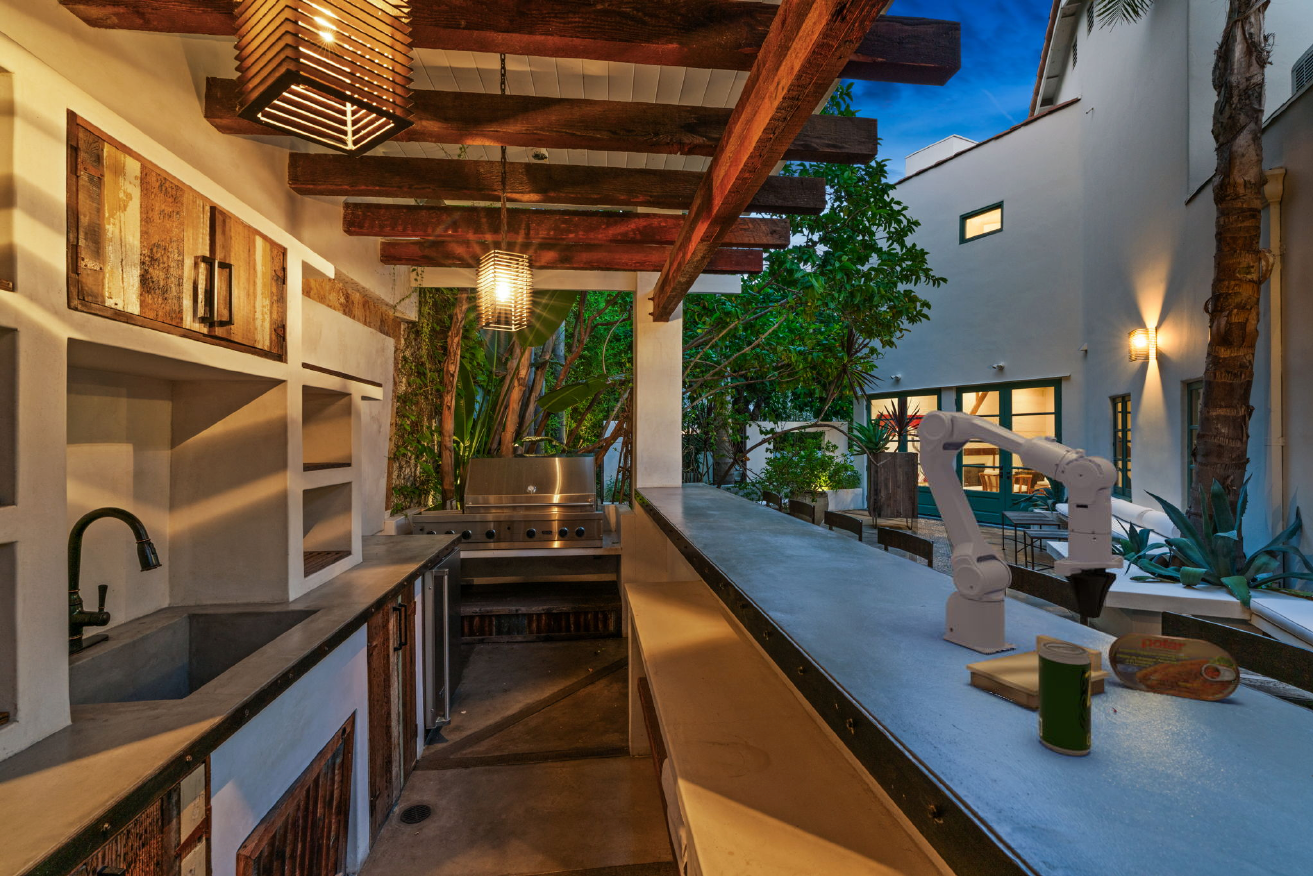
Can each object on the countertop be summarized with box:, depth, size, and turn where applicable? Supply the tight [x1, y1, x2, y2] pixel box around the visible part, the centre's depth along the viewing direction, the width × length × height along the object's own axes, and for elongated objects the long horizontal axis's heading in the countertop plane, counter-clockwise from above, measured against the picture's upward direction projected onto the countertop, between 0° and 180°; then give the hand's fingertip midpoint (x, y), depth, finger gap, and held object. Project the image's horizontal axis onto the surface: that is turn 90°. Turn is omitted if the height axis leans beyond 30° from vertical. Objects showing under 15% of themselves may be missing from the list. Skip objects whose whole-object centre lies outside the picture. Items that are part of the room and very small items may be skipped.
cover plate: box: [965, 634, 1110, 696], centre depth 92 cm, size 11×17×4 cm, turn 114°
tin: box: [1108, 632, 1241, 702], centre depth 91 cm, size 15×3×8 cm, turn 62°
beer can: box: [1038, 642, 1092, 757], centre depth 75 cm, size 5×5×12 cm
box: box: [969, 671, 1106, 712], centre depth 92 cm, size 10×16×2 cm, turn 114°
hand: (1089, 616), depth 98 cm, fingers closed
